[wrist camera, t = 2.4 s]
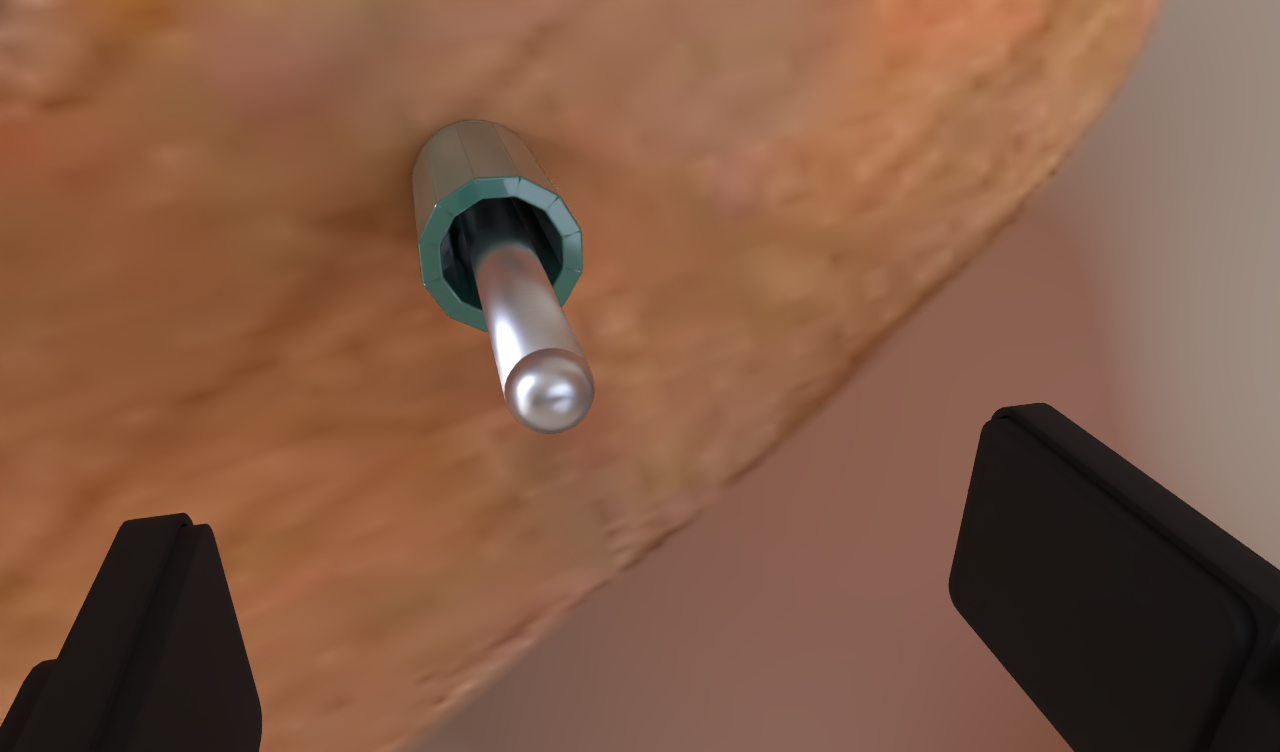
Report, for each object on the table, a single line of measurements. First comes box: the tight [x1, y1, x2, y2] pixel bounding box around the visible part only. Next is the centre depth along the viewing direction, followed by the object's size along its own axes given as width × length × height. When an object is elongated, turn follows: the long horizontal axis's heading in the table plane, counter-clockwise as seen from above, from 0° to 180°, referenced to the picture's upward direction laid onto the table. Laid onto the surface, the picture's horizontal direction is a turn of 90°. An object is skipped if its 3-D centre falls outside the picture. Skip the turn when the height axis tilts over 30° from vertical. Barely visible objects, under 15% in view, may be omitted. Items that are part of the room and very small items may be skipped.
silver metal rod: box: [459, 197, 595, 434], centre depth 20 cm, size 2×2×14 cm
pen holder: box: [412, 120, 583, 332], centre depth 23 cm, size 4×4×7 cm
